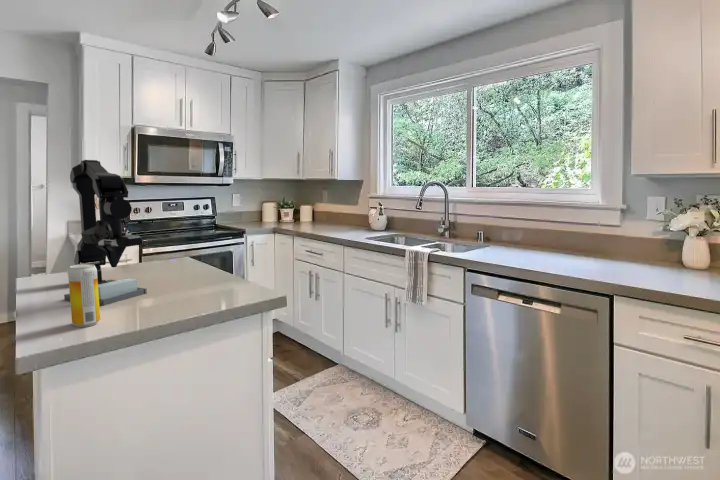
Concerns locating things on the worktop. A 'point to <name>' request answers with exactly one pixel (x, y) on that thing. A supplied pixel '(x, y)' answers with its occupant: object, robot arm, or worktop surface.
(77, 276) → the beer can
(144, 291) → the rack
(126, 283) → the panel
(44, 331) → the worktop surface
